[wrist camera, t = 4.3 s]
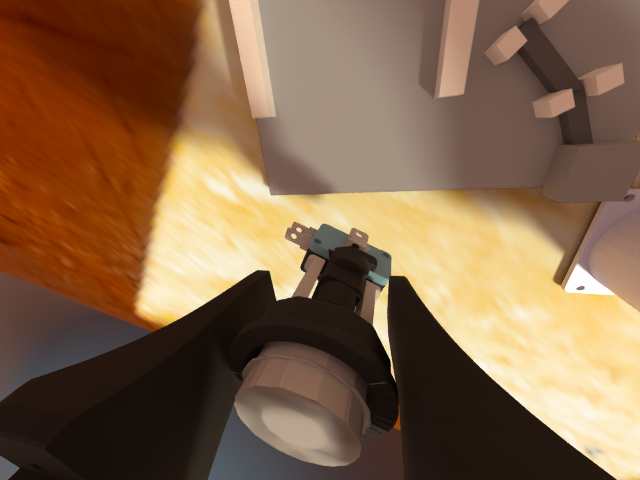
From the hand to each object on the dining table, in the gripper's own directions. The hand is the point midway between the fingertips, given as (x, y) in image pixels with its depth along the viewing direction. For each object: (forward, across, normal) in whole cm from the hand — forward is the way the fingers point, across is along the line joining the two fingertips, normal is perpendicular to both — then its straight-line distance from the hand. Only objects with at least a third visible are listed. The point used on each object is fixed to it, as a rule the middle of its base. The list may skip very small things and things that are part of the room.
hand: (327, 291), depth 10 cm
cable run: (+9, -12, -6) cm, 16 cm away
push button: (+5, 0, 0) cm, 5 cm away
